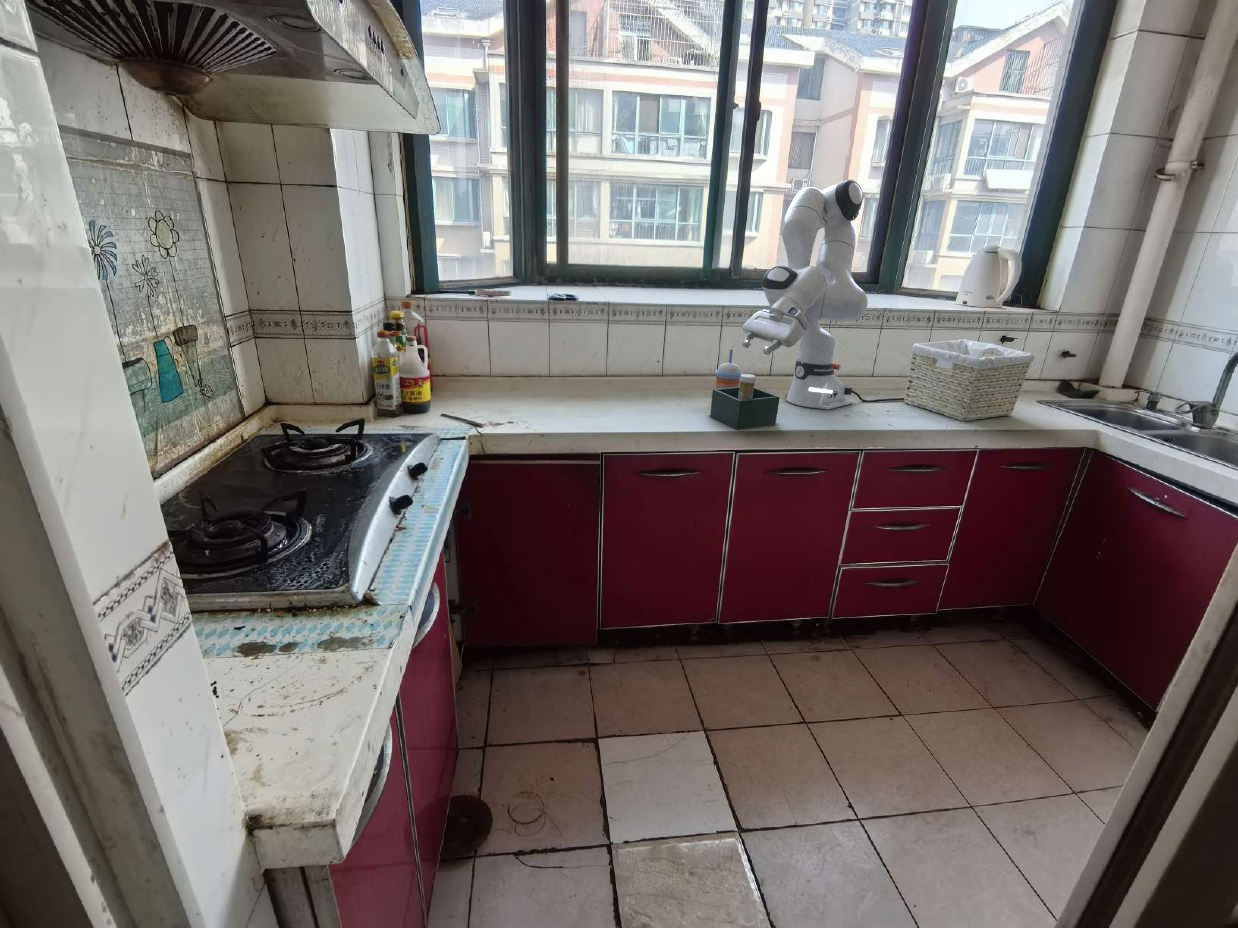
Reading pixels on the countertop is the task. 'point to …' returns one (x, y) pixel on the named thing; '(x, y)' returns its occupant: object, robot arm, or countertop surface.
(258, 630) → the countertop surface
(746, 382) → the sprinkles bottle
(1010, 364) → the basket
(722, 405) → the bin
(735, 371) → the cup with straw
